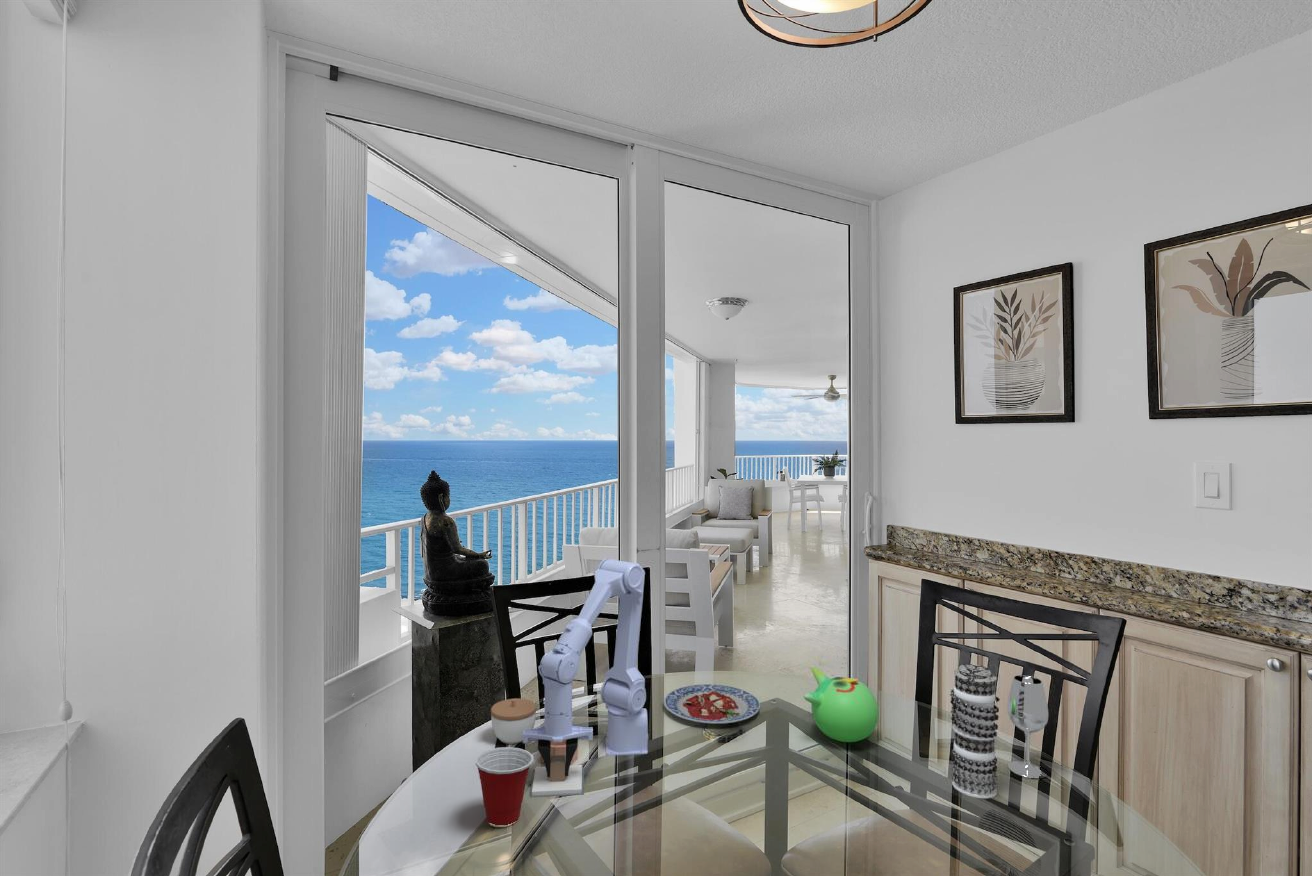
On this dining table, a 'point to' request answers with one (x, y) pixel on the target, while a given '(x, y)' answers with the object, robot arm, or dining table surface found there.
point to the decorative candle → (974, 731)
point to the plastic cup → (503, 782)
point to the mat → (558, 794)
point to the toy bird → (843, 707)
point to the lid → (557, 778)
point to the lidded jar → (513, 719)
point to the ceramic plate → (711, 703)
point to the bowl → (561, 750)
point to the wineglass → (1027, 717)
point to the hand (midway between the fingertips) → (557, 774)
